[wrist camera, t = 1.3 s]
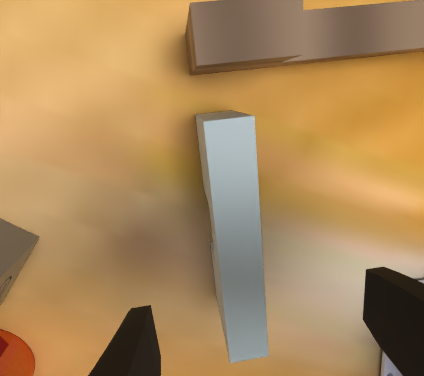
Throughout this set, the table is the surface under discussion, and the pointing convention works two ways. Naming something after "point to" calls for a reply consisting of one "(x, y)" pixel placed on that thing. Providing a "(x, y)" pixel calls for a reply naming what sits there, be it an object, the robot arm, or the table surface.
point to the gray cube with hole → (13, 254)
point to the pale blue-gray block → (235, 229)
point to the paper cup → (15, 356)
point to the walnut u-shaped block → (296, 33)
